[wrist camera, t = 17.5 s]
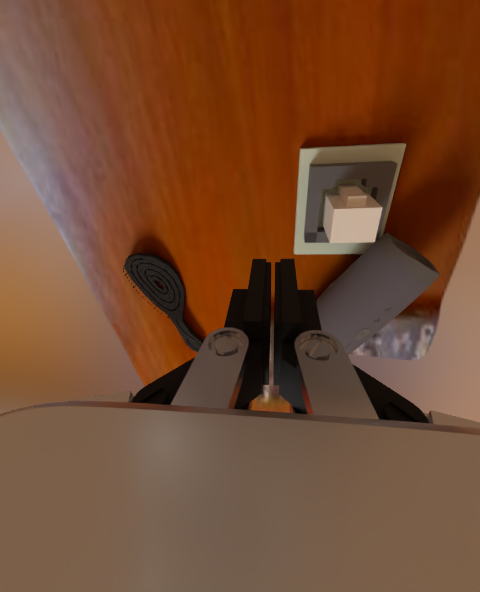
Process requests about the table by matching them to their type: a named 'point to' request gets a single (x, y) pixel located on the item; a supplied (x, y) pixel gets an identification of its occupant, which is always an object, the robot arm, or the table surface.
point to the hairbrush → (162, 290)
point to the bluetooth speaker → (374, 291)
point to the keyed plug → (350, 215)
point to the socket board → (325, 178)
